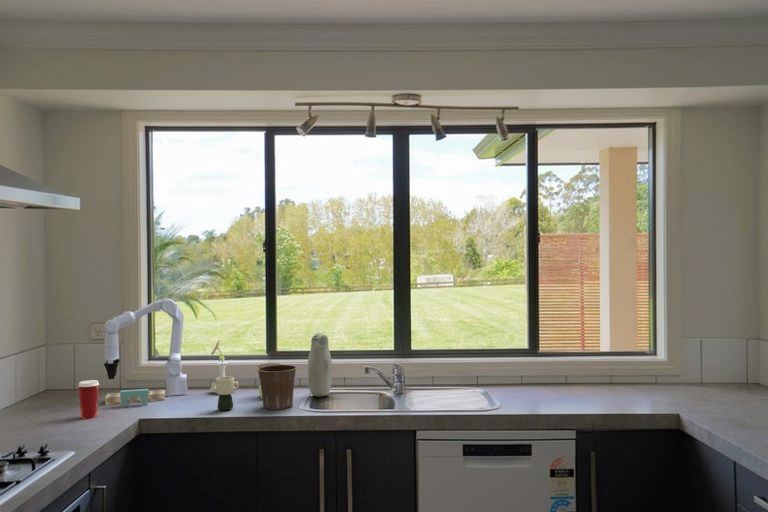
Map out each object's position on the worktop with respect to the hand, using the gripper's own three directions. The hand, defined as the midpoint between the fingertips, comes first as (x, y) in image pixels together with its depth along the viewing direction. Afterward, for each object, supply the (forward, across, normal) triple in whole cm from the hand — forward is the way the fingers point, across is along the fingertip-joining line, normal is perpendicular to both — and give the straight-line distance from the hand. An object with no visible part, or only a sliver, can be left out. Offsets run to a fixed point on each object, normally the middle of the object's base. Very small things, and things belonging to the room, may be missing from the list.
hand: (112, 377), depth 286 cm
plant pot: (+10, +39, +67) cm, 79 cm away
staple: (+10, +16, +10) cm, 21 cm away
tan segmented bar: (+10, +5, +10) cm, 15 cm away
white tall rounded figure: (+10, +26, +88) cm, 93 cm away
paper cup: (+10, +31, -6) cm, 33 cm away
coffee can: (+10, +18, +67) cm, 70 cm away
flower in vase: (+10, +3, +47) cm, 48 cm away
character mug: (+10, +38, +46) cm, 61 cm away
